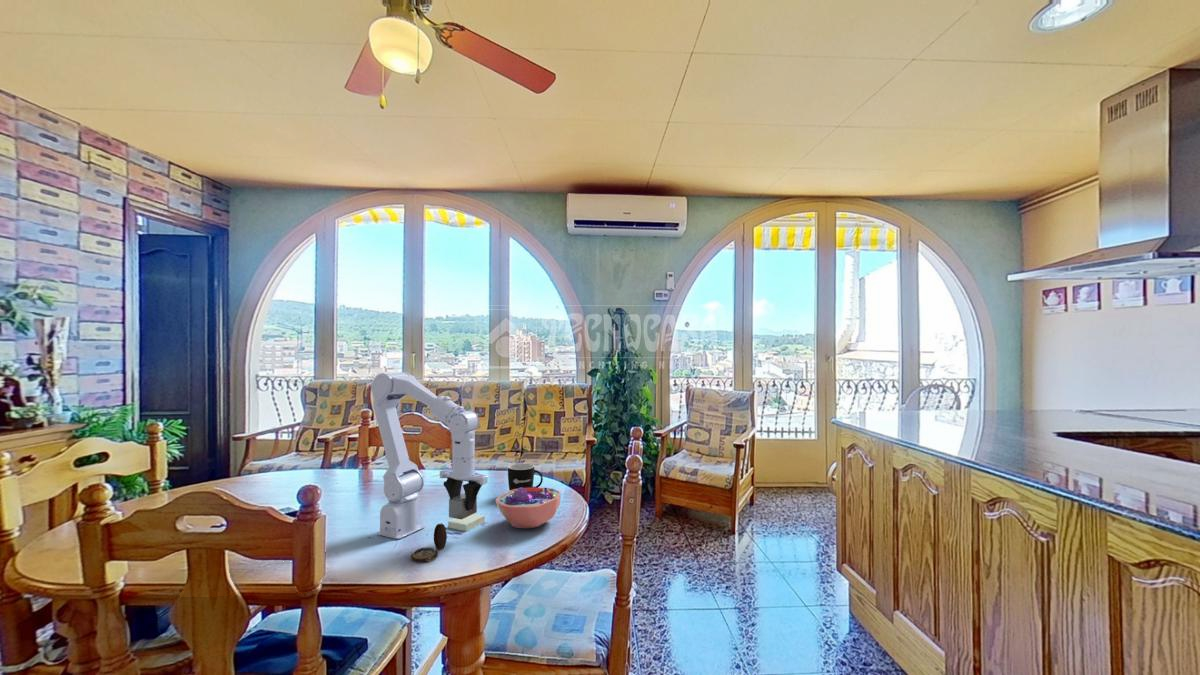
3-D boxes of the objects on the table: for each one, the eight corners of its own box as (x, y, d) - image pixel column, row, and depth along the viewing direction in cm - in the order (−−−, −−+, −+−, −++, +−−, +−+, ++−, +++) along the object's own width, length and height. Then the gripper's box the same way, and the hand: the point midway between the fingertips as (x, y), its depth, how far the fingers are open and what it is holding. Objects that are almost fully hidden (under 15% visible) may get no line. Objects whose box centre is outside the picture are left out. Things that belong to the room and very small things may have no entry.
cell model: (574, 522, 142) (575, 483, 142) (520, 543, 127) (521, 499, 127) (537, 509, 153) (537, 473, 153) (483, 526, 138) (483, 486, 138)
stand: (466, 531, 134) (466, 524, 135) (448, 527, 137) (448, 520, 137) (484, 521, 142) (484, 515, 142) (466, 518, 144) (466, 512, 145)
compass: (406, 557, 118) (407, 527, 119) (438, 548, 124) (438, 519, 124) (418, 568, 112) (418, 537, 112) (451, 559, 117) (451, 528, 118)
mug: (508, 501, 161) (508, 470, 161) (506, 493, 170) (506, 463, 170) (544, 498, 164) (544, 468, 164) (540, 490, 173) (541, 462, 173)
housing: (461, 519, 125) (461, 500, 125) (448, 517, 127) (449, 498, 127) (476, 512, 131) (476, 494, 131) (464, 510, 132) (464, 492, 133)
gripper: (495, 456, 130) (494, 507, 129) (452, 451, 136) (452, 499, 136) (478, 462, 123) (477, 515, 123) (434, 456, 129) (433, 507, 129)
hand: (462, 508), depth 129 cm, fingers closed on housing, 4 cm apart
